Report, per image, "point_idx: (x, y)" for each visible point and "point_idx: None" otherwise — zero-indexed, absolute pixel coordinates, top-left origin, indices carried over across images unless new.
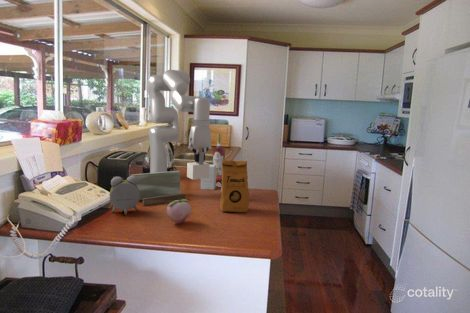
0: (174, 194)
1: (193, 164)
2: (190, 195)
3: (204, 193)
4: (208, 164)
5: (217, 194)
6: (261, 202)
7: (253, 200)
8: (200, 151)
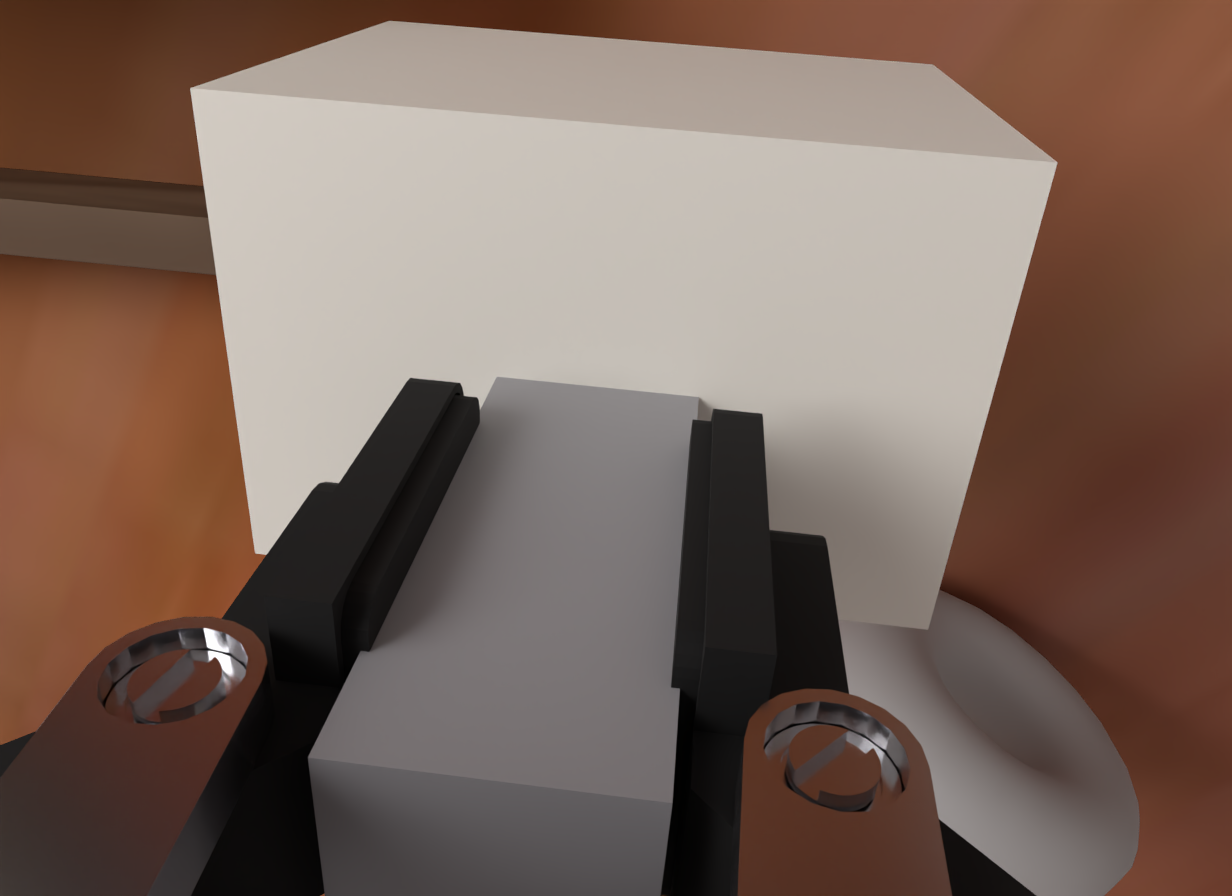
0: (118, 222)
1: (317, 463)
2: (571, 33)
3: (895, 50)
4: (882, 614)
5: (1043, 254)
6: (1179, 872)
7: (1186, 776)
8: (569, 856)
